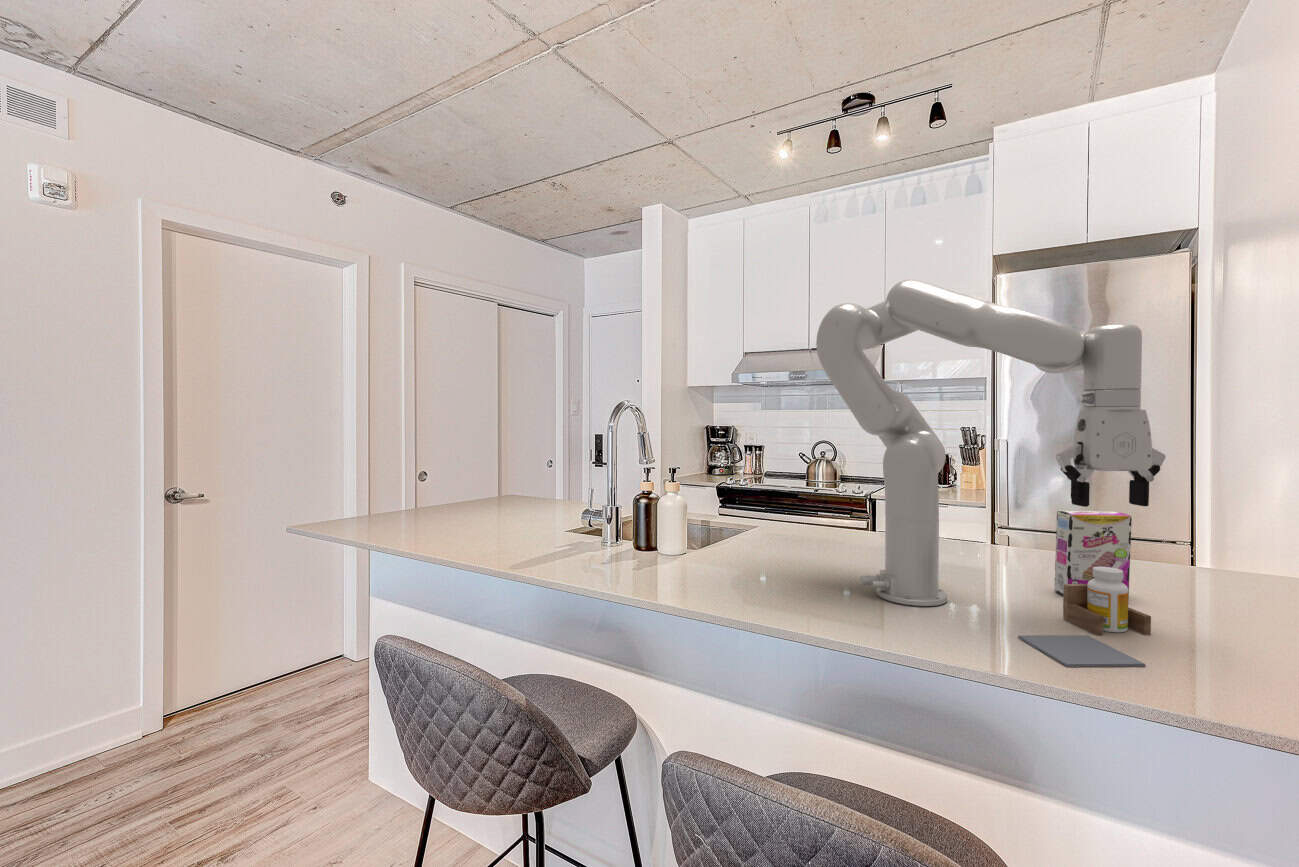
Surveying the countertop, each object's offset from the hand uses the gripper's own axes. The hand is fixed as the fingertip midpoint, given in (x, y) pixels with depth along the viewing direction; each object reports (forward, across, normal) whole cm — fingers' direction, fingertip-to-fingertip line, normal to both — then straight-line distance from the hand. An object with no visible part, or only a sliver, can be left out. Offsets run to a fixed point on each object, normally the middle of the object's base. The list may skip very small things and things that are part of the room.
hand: (1109, 505), depth 99 cm
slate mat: (+20, -12, -10) cm, 26 cm away
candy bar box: (+20, +10, +17) cm, 28 cm away
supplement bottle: (+20, 0, 0) cm, 21 cm away
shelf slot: (+20, 0, 0) cm, 20 cm away
